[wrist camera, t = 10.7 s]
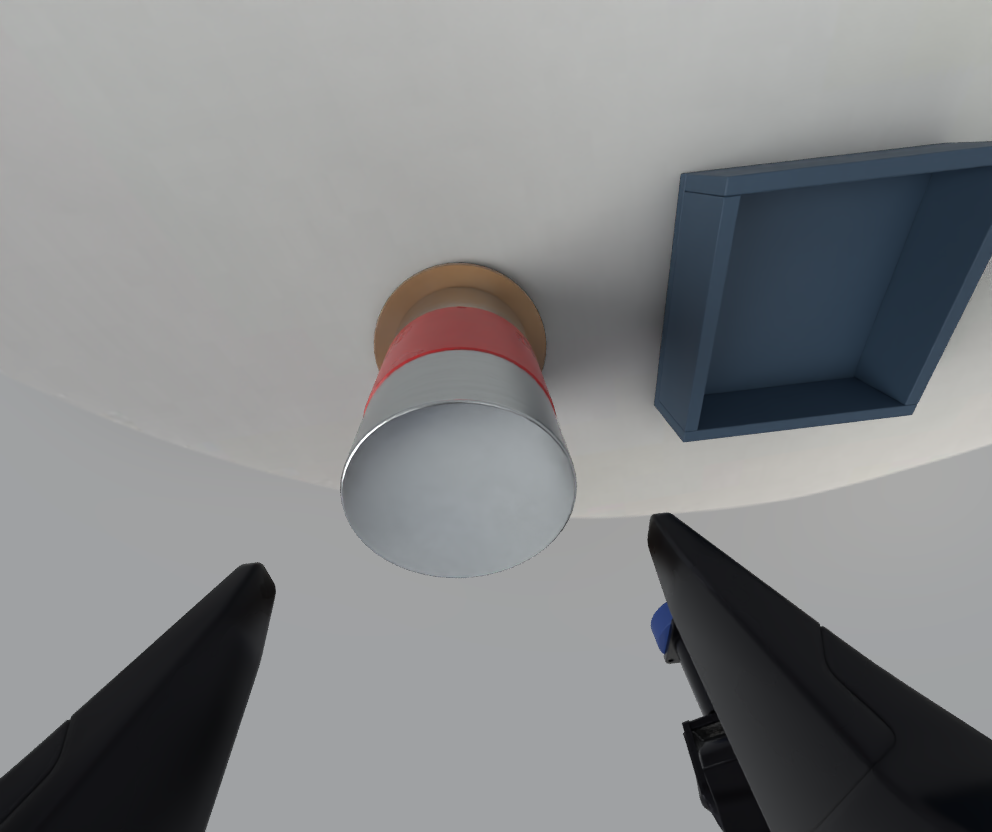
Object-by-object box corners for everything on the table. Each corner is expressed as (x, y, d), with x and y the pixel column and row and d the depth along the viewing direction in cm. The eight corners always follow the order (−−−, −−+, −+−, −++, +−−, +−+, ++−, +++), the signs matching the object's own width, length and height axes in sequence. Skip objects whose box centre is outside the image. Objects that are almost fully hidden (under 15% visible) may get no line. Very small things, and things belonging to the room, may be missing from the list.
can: (532, 403, 21) (578, 566, 13) (408, 418, 21) (372, 591, 13) (524, 277, 18) (580, 382, 9) (378, 294, 18) (301, 415, 9)
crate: (852, 381, 22) (912, 415, 19) (653, 405, 22) (682, 442, 19) (945, 142, 17) (1050, 139, 14) (680, 173, 17) (727, 176, 14)
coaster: (547, 412, 22) (549, 416, 22) (396, 430, 22) (395, 434, 22) (541, 252, 18) (543, 253, 18) (354, 273, 18) (352, 276, 17)
